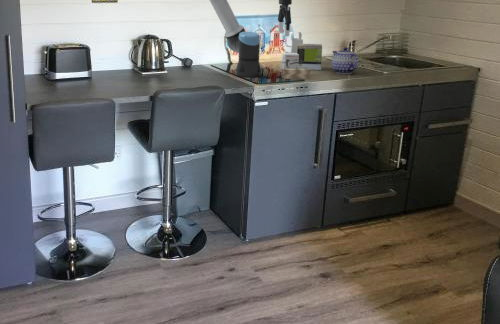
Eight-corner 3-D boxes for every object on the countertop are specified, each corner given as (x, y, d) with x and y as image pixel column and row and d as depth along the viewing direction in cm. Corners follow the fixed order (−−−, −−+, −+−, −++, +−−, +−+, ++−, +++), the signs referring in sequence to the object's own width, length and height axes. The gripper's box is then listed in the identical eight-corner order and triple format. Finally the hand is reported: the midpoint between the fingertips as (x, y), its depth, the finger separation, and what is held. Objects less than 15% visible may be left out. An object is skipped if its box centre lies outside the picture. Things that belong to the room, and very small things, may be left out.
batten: (283, 78, 318) (284, 69, 316) (282, 77, 321) (282, 68, 319) (309, 78, 321) (310, 69, 320) (307, 77, 324) (308, 68, 323)
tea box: (320, 67, 357) (322, 43, 352) (320, 70, 347) (322, 45, 342) (296, 66, 358) (297, 42, 353) (296, 69, 349) (297, 44, 344)
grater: (282, 62, 371) (284, 31, 364) (297, 62, 375) (298, 31, 368) (289, 65, 362) (291, 33, 355) (304, 64, 366) (306, 32, 359)
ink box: (284, 74, 330) (285, 54, 326) (281, 73, 335) (282, 52, 331) (298, 74, 333) (299, 54, 329) (295, 73, 337) (296, 52, 333)
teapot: (366, 75, 335) (369, 49, 330) (344, 77, 329) (346, 50, 324) (343, 68, 356) (345, 44, 352) (321, 69, 350) (323, 44, 346)
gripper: (298, -2, 325) (295, 37, 331) (285, -4, 348) (283, 32, 354) (285, -2, 323) (283, 36, 330) (273, -4, 346) (272, 32, 353)
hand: (283, 34), depth 342 cm, fingers open, 13 cm apart
